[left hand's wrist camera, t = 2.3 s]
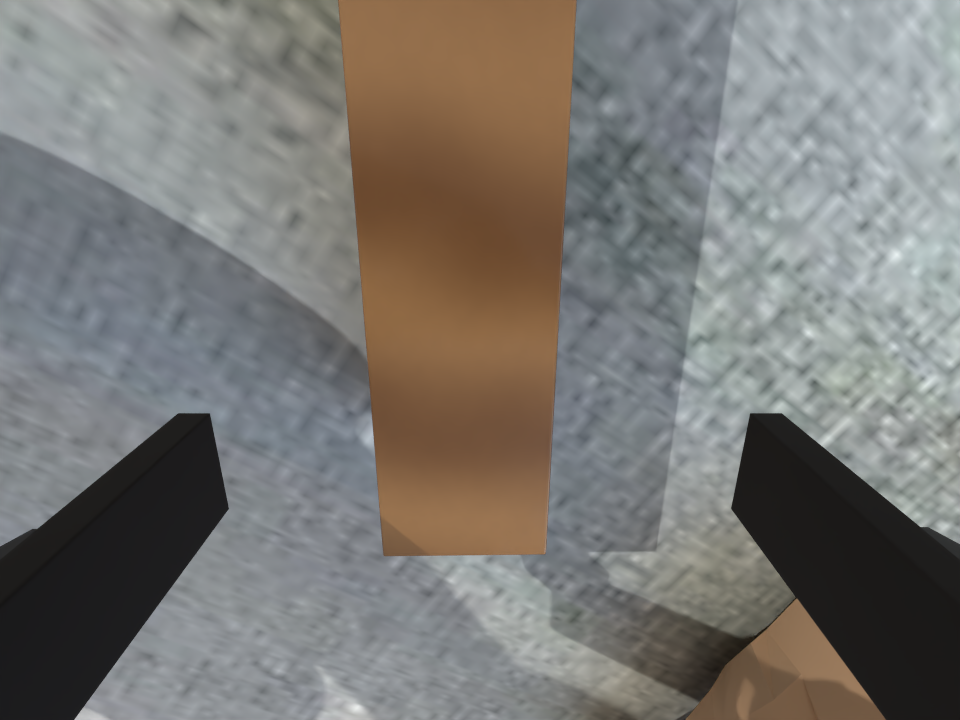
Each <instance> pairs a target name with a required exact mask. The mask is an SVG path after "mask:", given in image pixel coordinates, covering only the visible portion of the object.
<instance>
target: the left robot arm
mask: <svg viewBox="0 0 960 720" xmlns="http://www.w3.org/2000/svg"><path fill="white" fill-rule="evenodd" d="M228 509H229V507H228V502H227V497H226V492H225V487H224V482H223V477H222V472H221V467H220V462H219V457H218V452H217V447H216V442H215V437H214V432H213V427H212V422H211V417H210V413H178V414H177V415H176V416H175V417H173V418H172V419H171V420H170V421H168V422H167V423H166V424H165V425H164V426H162V427H161V428H160V429H159V430H158V431H156V432H155V433H154V434H153V435H151V436H150V437H149V438H148V439H147V440H145V441H144V442H143V443H142V444H140V445H139V446H138V447H137V448H136V449H134V450H133V451H132V452H131V453H129V454H128V455H127V456H126V457H125V458H123V459H122V460H121V461H120V462H119V463H117V464H116V465H115V466H114V467H112V468H111V469H110V470H109V471H108V472H106V473H105V474H104V475H103V476H101V477H100V478H99V479H98V480H97V481H95V482H94V483H93V484H92V485H90V486H89V487H88V488H87V489H86V490H84V491H83V492H82V493H81V494H80V495H78V496H77V497H76V498H75V499H73V500H72V501H71V502H70V503H69V504H67V505H66V506H65V507H64V508H62V509H61V510H60V511H59V512H58V513H56V514H55V515H54V516H53V517H51V518H50V519H49V520H48V521H47V522H45V523H44V524H43V525H42V526H40V527H39V528H38V529H32V530H30V531H28V532H26V533H24V534H23V535H21V536H19V537H17V538H15V539H13V540H12V541H10V542H8V543H6V544H4V545H2V546H0V720H74V719H75V718H76V716H77V715H78V714H79V712H80V711H81V710H82V708H83V707H84V705H85V704H86V703H87V701H88V700H89V699H90V697H91V696H92V695H93V693H94V692H95V690H96V689H97V688H98V686H99V685H100V684H101V682H102V681H103V680H104V678H105V677H106V675H107V674H108V673H109V671H110V670H111V669H112V667H113V666H114V665H115V663H116V662H117V660H118V659H119V658H120V656H121V655H122V654H123V652H124V651H125V650H126V648H127V647H128V645H129V644H130V643H131V641H132V640H133V639H134V637H135V636H136V635H137V633H138V632H139V630H140V629H141V628H142V626H143V625H144V624H145V622H146V621H147V620H148V618H149V617H150V615H151V614H152V613H153V611H154V610H155V609H156V607H157V606H158V605H159V603H160V602H161V600H162V599H163V598H164V596H165V595H166V594H167V592H168V591H169V590H170V588H171V587H172V585H173V584H174V583H175V581H176V580H177V579H178V577H179V576H180V575H181V573H182V572H183V570H184V569H185V568H186V566H187V565H188V564H189V562H190V561H191V560H192V558H193V557H194V555H195V554H196V553H197V551H198V550H199V549H200V547H201V546H202V545H203V543H204V542H205V540H206V539H207V538H208V536H209V535H210V534H211V532H212V531H213V530H214V528H215V527H216V525H217V524H218V523H219V521H220V520H221V519H222V517H223V516H224V514H225V513H226V512H227V510H228ZM731 509H732V510H733V512H734V513H735V514H736V516H737V517H738V519H739V520H740V521H741V523H742V524H743V525H744V527H745V528H746V530H747V531H748V532H749V534H750V535H751V536H752V538H753V539H754V540H755V542H756V543H757V545H758V546H759V547H760V549H761V550H762V551H763V553H764V554H765V555H766V557H767V558H768V560H769V561H770V562H771V564H772V565H773V566H774V568H775V569H776V570H777V572H778V573H779V575H780V576H781V577H782V579H783V580H784V581H785V583H786V584H787V585H788V587H789V588H790V590H791V591H792V592H793V594H794V595H795V596H796V598H797V599H798V600H799V602H800V603H801V605H802V606H803V607H804V609H805V610H806V611H807V613H808V614H809V615H810V617H811V618H812V620H813V621H814V622H815V624H816V625H817V626H818V628H819V629H820V630H821V632H822V633H823V635H824V636H825V637H826V639H827V640H828V641H829V643H830V644H831V645H832V647H833V648H834V650H835V651H836V652H837V654H838V655H839V656H840V658H841V659H842V660H843V662H844V663H845V665H846V666H847V667H848V669H849V670H850V671H851V673H852V674H853V675H854V677H855V678H856V680H857V681H858V682H859V684H860V685H861V686H862V688H863V689H864V690H865V692H866V693H867V695H868V696H869V697H870V699H871V700H872V701H873V703H874V704H875V705H876V707H877V708H878V710H879V711H880V712H881V714H882V715H883V716H884V718H885V719H886V720H960V544H958V543H956V542H954V541H953V540H951V539H949V538H947V537H945V536H943V535H941V534H940V533H938V532H936V531H934V530H932V529H930V528H928V527H920V526H918V525H917V524H916V523H915V522H913V521H912V520H911V519H910V518H909V517H907V516H906V515H905V514H904V513H902V512H901V511H900V510H899V509H898V508H896V507H895V506H894V505H893V504H891V503H890V502H889V501H888V500H887V499H885V498H884V497H883V496H882V495H881V494H879V493H878V492H877V491H876V490H874V489H873V488H872V487H871V486H870V485H868V484H867V483H866V482H865V481H863V480H862V479H861V478H860V477H859V476H857V475H856V474H855V473H854V472H852V471H851V470H850V469H849V468H848V467H846V466H845V465H844V464H843V463H841V462H840V461H839V460H838V459H837V458H835V457H834V456H833V455H832V454H831V453H829V452H828V451H827V450H826V449H824V448H823V447H822V446H821V445H820V444H818V443H817V442H816V441H815V440H813V439H812V438H811V437H810V436H809V435H807V434H806V433H805V432H804V431H802V430H801V429H800V428H799V427H798V426H796V425H795V424H794V423H793V422H792V421H790V420H789V419H788V418H787V417H785V416H784V415H783V414H782V413H750V417H749V422H748V427H747V432H746V437H745V442H744V447H743V452H742V457H741V462H740V467H739V472H738V477H737V482H736V487H735V492H734V497H733V502H732V507H731Z"/></svg>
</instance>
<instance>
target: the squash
mask: <svg viewBox="0 0 960 720" xmlns="http://www.w3.org/2000/svg"><path fill="white" fill-rule="evenodd" d="M686 720H886V719H885V718H884V716H883V715H882V714H881V712H880V711H879V710H878V708H877V707H876V705H875V704H874V703H873V701H872V700H871V699H870V697H869V696H868V695H867V693H866V692H865V690H864V689H863V688H862V686H861V685H860V684H859V682H858V681H857V680H856V678H855V677H854V675H853V674H852V673H851V671H850V670H849V669H848V667H847V666H846V665H845V663H844V662H843V660H842V659H841V658H840V656H839V655H838V654H837V652H836V651H835V650H834V648H833V647H832V645H831V644H830V643H829V641H828V640H827V639H826V637H825V636H824V635H823V633H822V632H821V630H820V629H819V628H818V626H817V625H816V624H815V622H814V621H813V620H812V618H811V617H810V615H809V614H808V613H807V611H806V610H805V609H804V607H803V606H802V605H801V603H800V602H799V600H798V599H797V598H796V600H795V601H794V602H793V603H792V604H791V605H790V606H789V607H788V608H787V609H786V610H785V611H784V612H783V613H782V614H781V615H780V616H779V617H778V618H777V619H776V620H775V621H774V622H773V623H772V624H771V625H770V626H769V627H768V628H767V629H766V630H765V631H764V632H763V633H762V634H761V635H759V636H758V637H757V638H756V639H755V640H754V641H752V642H751V643H750V644H749V645H748V646H747V647H745V648H744V649H743V650H742V651H741V652H740V653H739V654H737V655H736V656H735V657H734V658H733V659H732V660H731V661H729V662H728V663H727V664H726V665H725V666H724V668H723V670H722V671H721V673H720V675H719V676H718V678H717V680H716V681H715V683H714V685H713V686H712V688H711V689H710V691H709V692H708V693H707V694H706V695H705V697H704V698H703V699H702V700H701V701H700V703H699V704H698V705H697V706H696V708H695V709H694V710H693V711H692V712H691V714H690V715H689V716H688V717H687V718H686Z"/></svg>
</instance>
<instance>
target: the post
mask: <svg viewBox="0 0 960 720" xmlns="http://www.w3.org/2000/svg"><path fill="white" fill-rule="evenodd" d="M576 3H577V0H338V4H339V16H340V29H341V41H342V53H343V66H344V78H345V90H346V102H347V115H348V127H349V139H350V151H351V164H352V176H353V188H354V201H355V213H356V225H357V237H358V250H359V262H360V274H361V287H362V299H363V311H364V323H365V336H366V348H367V360H368V373H369V385H370V397H371V409H372V422H373V434H374V446H375V459H376V471H377V483H378V495H379V508H380V520H381V532H382V545H383V555H384V556H439V555H530V554H545V553H546V542H547V524H548V506H549V488H550V470H551V452H552V434H553V416H554V398H555V380H556V362H557V344H558V326H559V308H560V291H561V273H562V255H563V237H564V219H565V201H566V183H567V165H568V147H569V129H570V111H571V93H572V75H573V57H574V39H575V21H576Z"/></svg>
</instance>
